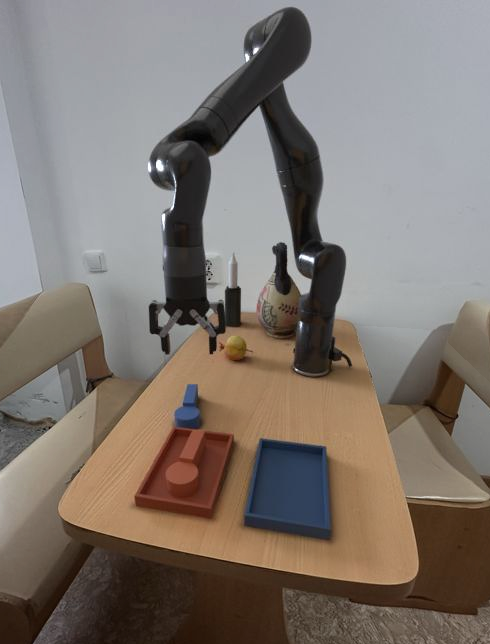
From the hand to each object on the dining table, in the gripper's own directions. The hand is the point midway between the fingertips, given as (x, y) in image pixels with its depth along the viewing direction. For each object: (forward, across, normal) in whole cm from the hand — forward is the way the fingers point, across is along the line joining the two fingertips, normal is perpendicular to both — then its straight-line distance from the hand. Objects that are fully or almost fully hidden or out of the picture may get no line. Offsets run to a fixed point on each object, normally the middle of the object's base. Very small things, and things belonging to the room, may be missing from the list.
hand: (189, 352), depth 73 cm
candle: (+16, -8, -58) cm, 61 cm away
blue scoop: (+16, +1, -3) cm, 16 cm away
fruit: (+16, -9, -30) cm, 35 cm away
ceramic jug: (+16, -24, -48) cm, 56 cm away
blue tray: (+16, -18, +19) cm, 30 cm away
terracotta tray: (+16, -1, +16) cm, 22 cm away
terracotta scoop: (+15, -1, +14) cm, 21 cm away
